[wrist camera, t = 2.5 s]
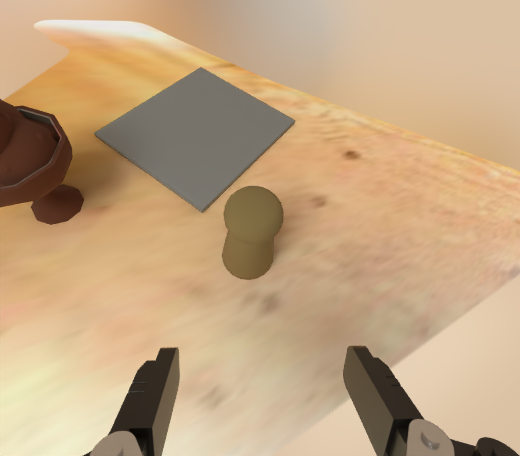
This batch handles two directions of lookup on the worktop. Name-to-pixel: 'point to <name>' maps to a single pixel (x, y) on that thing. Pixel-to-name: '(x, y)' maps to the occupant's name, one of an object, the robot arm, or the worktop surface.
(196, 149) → the charcoal mat
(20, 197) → the ice cream bowl
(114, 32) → the worktop surface
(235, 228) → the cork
